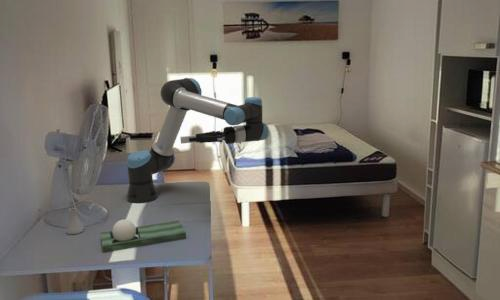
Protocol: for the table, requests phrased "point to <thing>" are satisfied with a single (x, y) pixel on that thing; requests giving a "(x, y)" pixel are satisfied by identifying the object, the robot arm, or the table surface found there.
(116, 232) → the ball
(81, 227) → the flask
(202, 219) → the table surface
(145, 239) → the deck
